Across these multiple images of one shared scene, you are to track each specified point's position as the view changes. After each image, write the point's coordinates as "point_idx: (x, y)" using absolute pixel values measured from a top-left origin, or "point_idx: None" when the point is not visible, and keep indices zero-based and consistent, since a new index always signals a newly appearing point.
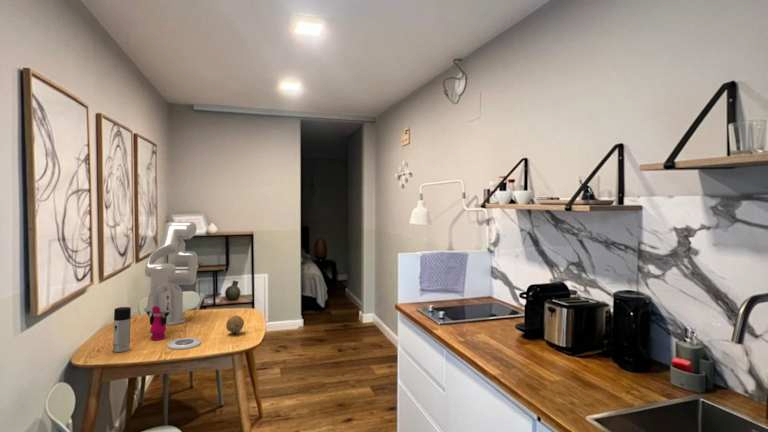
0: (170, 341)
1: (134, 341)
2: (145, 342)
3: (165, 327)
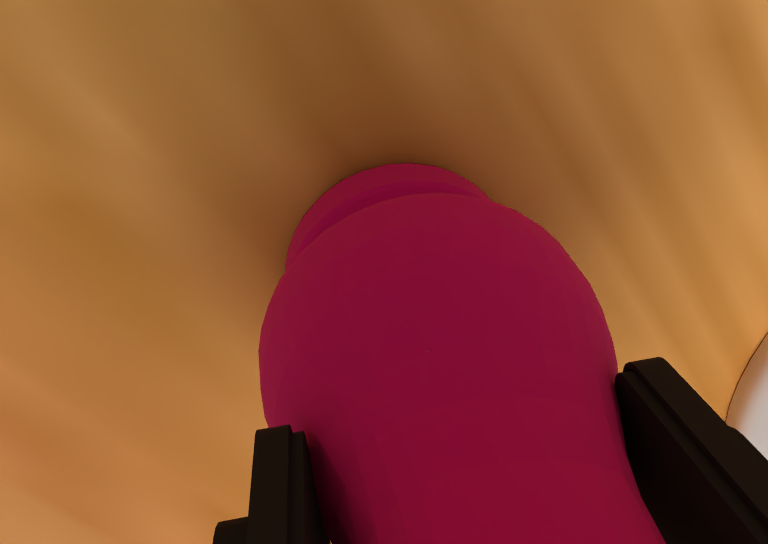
0: (752, 438)
1: (135, 475)
2: None
3: (606, 324)
